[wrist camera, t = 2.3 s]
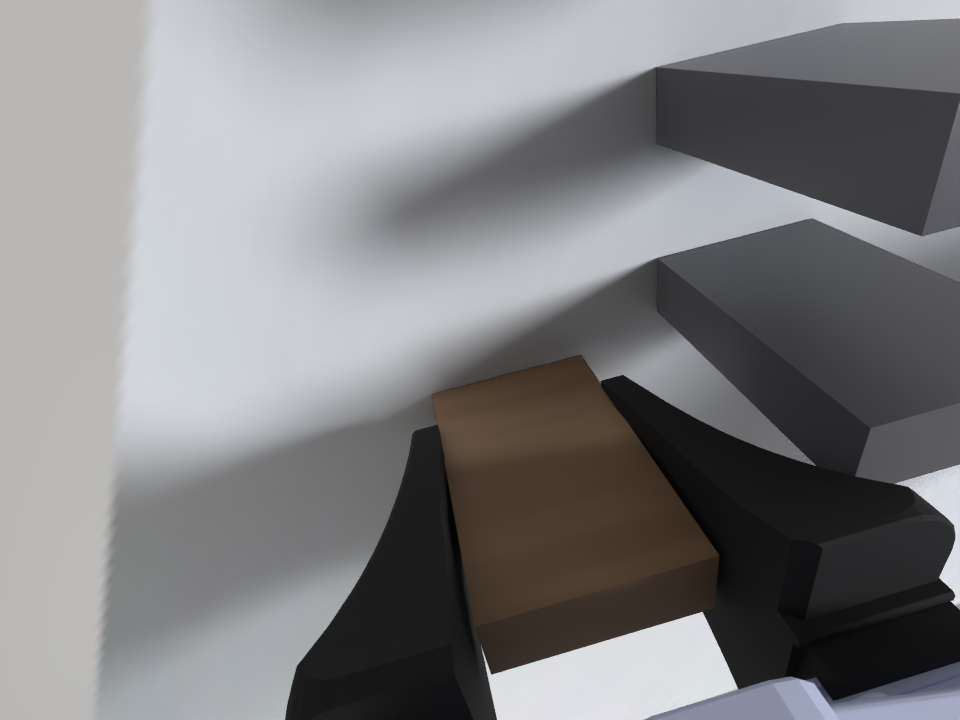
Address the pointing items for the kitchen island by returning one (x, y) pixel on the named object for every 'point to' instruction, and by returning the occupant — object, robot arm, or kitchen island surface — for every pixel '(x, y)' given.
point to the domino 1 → (564, 517)
